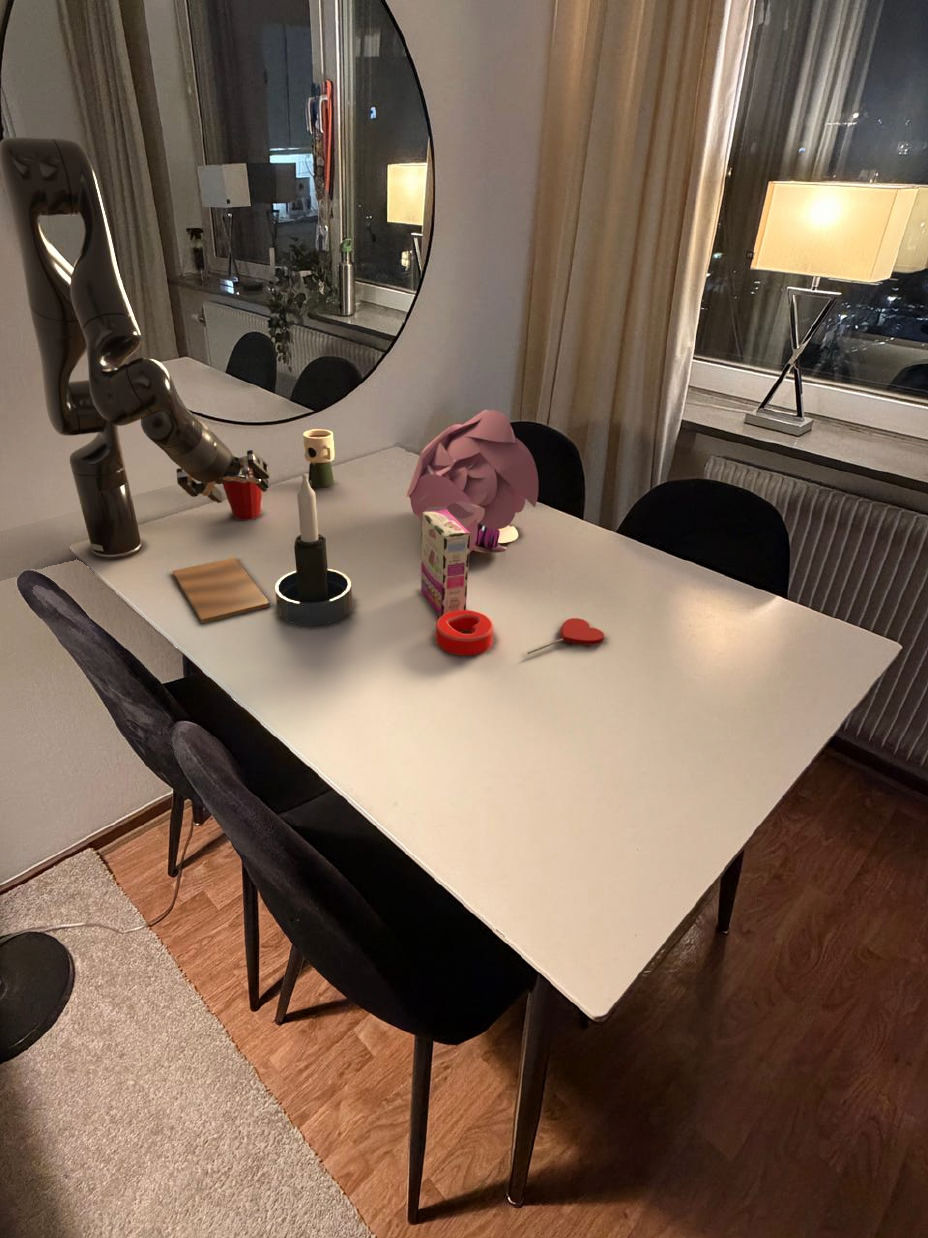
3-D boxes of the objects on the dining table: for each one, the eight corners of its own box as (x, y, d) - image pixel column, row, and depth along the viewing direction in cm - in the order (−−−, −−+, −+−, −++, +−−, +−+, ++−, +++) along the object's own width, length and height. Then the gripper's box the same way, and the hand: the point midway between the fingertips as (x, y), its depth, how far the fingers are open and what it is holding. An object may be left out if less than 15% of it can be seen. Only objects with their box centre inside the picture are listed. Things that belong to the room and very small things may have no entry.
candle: (302, 598, 134) (290, 468, 121) (330, 598, 135) (321, 468, 122) (299, 613, 130) (286, 479, 117) (328, 613, 131) (319, 479, 117)
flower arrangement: (551, 568, 160) (594, 442, 147) (477, 582, 143) (518, 442, 130) (444, 503, 179) (474, 387, 166) (368, 509, 162) (395, 381, 150)
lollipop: (543, 667, 119) (609, 640, 127) (544, 662, 119) (610, 635, 126) (512, 644, 125) (577, 619, 132) (512, 639, 124) (577, 614, 132)
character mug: (298, 480, 184) (293, 429, 177) (323, 475, 188) (320, 425, 181) (319, 495, 177) (315, 442, 170) (345, 489, 181) (342, 437, 174)
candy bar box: (467, 616, 132) (471, 532, 123) (441, 621, 130) (444, 536, 122) (444, 587, 141) (446, 507, 132) (419, 591, 139) (420, 511, 130)
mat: (173, 574, 141) (172, 571, 140) (235, 561, 146) (234, 557, 146) (202, 623, 127) (201, 619, 126) (269, 606, 132) (269, 602, 132)
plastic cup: (232, 503, 171) (225, 453, 164) (277, 507, 170) (272, 457, 163) (212, 522, 161) (204, 469, 155) (259, 526, 160) (253, 474, 154)
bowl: (267, 599, 134) (264, 577, 132) (334, 582, 140) (332, 561, 138) (293, 633, 125) (291, 611, 123) (364, 614, 131) (363, 592, 129)
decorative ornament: (432, 626, 129) (432, 611, 127) (485, 622, 130) (486, 607, 129) (441, 657, 121) (441, 641, 119) (498, 652, 122) (499, 637, 121)
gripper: (236, 417, 115) (278, 464, 131) (152, 439, 117) (203, 482, 132) (240, 459, 113) (282, 502, 129) (155, 481, 115) (206, 520, 130)
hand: (242, 492), depth 130 cm, fingers open, 8 cm apart
